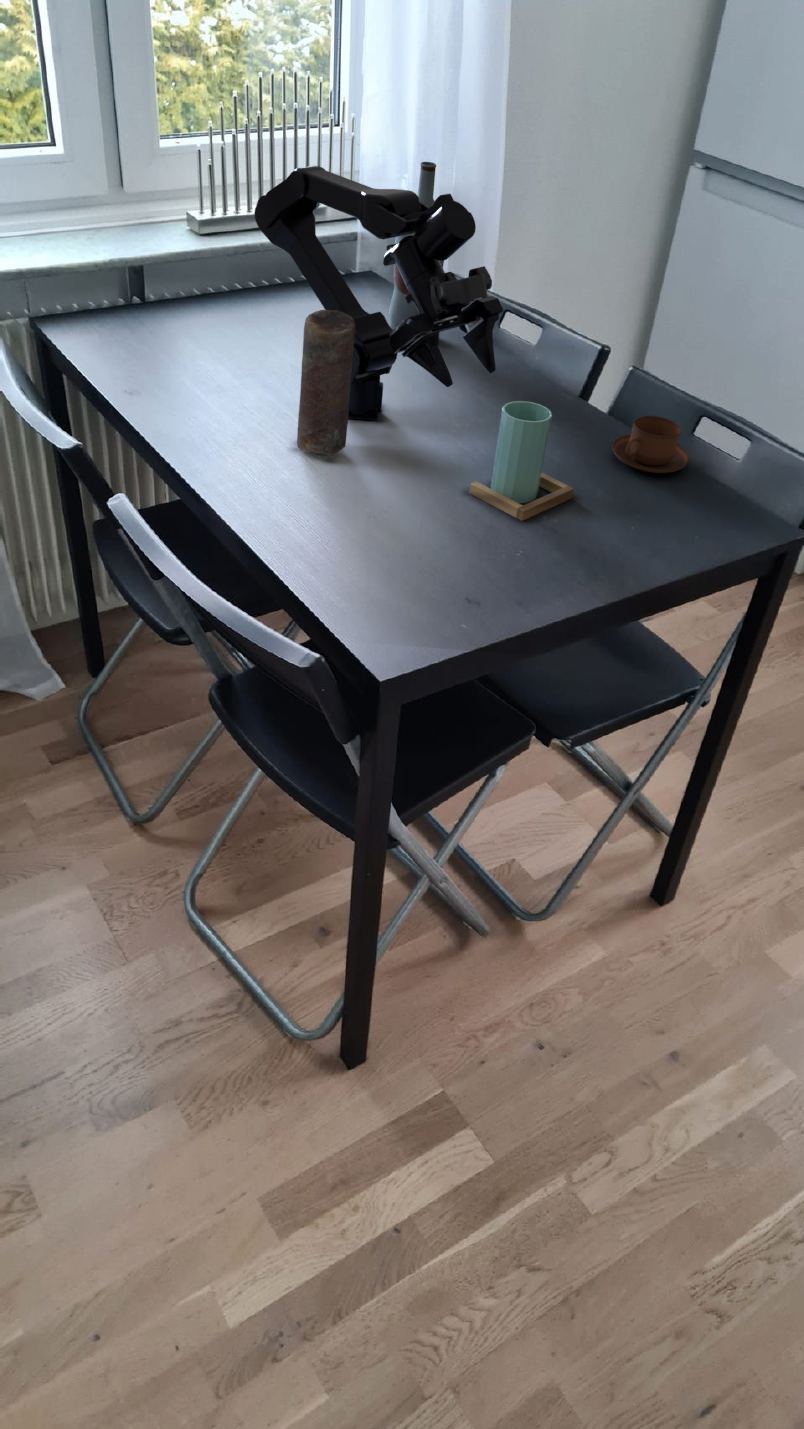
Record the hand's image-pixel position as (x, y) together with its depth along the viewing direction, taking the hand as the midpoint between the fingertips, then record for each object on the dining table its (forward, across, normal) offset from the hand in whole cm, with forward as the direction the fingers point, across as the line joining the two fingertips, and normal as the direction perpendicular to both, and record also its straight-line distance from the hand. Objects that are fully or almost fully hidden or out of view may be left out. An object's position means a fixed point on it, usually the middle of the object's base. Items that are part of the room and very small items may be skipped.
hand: (472, 378), depth 160 cm
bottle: (-19, +31, +39) cm, 53 cm away
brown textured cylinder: (-1, -14, +21) cm, 25 cm away
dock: (+18, 0, +2) cm, 18 cm away
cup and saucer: (+22, +26, -2) cm, 33 cm away
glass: (+17, 0, +2) cm, 17 cm away
